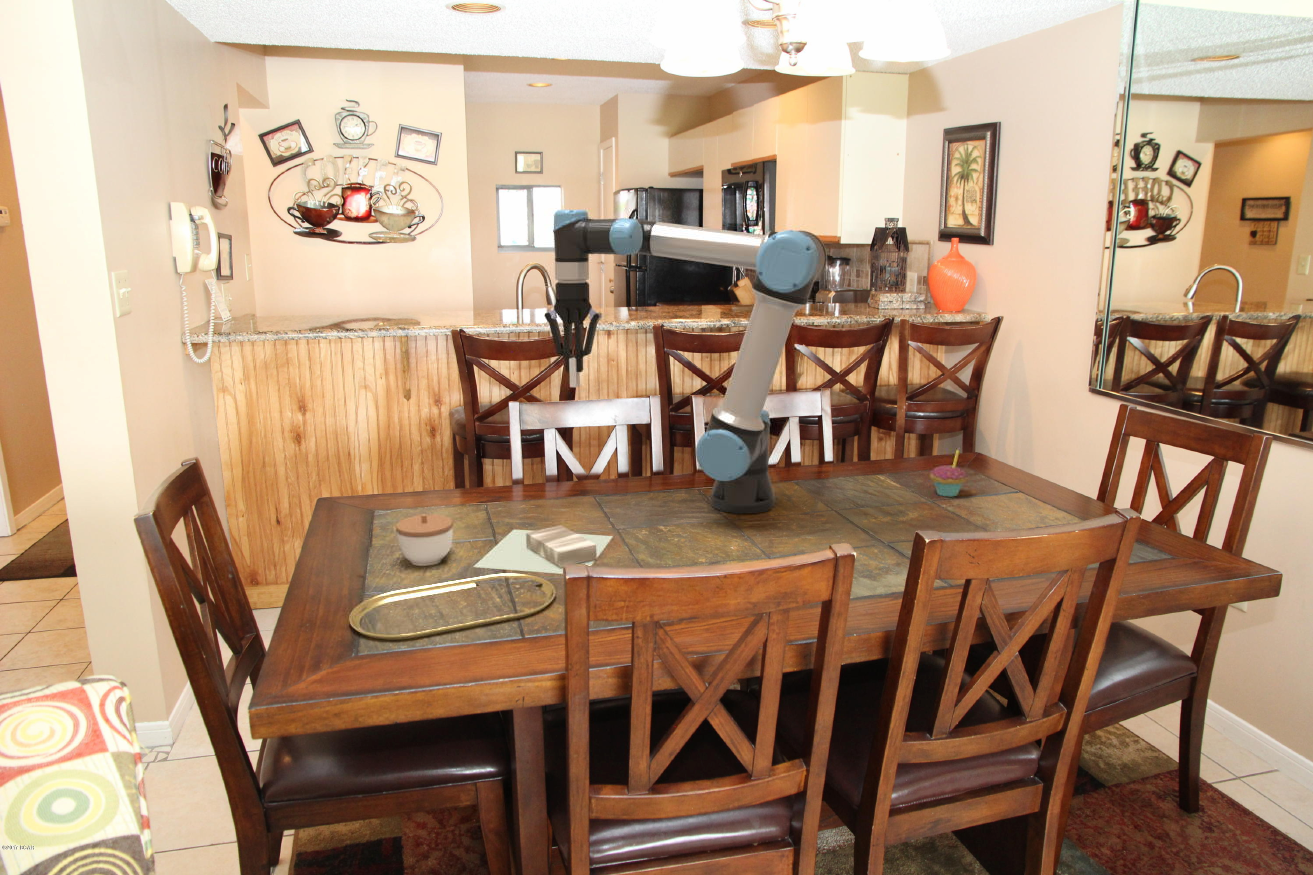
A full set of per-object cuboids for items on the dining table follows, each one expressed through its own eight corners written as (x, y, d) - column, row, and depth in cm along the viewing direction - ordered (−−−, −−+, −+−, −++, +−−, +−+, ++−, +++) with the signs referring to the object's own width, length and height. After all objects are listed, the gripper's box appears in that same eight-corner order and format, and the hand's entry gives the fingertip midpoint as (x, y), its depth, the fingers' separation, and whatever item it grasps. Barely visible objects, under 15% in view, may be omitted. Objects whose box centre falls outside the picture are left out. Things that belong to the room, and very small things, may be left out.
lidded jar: (405, 574, 169) (401, 527, 167) (393, 556, 179) (390, 511, 176) (461, 564, 174) (458, 518, 172) (446, 547, 183) (444, 503, 181)
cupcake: (969, 492, 220) (973, 445, 217) (960, 501, 213) (964, 452, 210) (934, 487, 224) (937, 440, 221) (924, 495, 217) (927, 447, 214)
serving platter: (570, 612, 153) (570, 603, 153) (357, 653, 139) (357, 644, 139) (536, 574, 170) (536, 567, 170) (343, 608, 155) (342, 599, 155)
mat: (613, 538, 188) (613, 536, 188) (583, 578, 167) (583, 575, 167) (513, 532, 192) (513, 529, 192) (473, 569, 171) (473, 566, 171)
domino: (525, 532, 181) (560, 552, 169) (560, 525, 185) (596, 544, 174) (526, 547, 181) (560, 568, 170) (561, 539, 186) (596, 559, 175)
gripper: (604, 280, 201) (606, 384, 206) (549, 280, 204) (552, 382, 209) (596, 282, 194) (598, 390, 199) (538, 282, 196) (542, 388, 202)
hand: (574, 386), depth 204 cm, fingers closed
